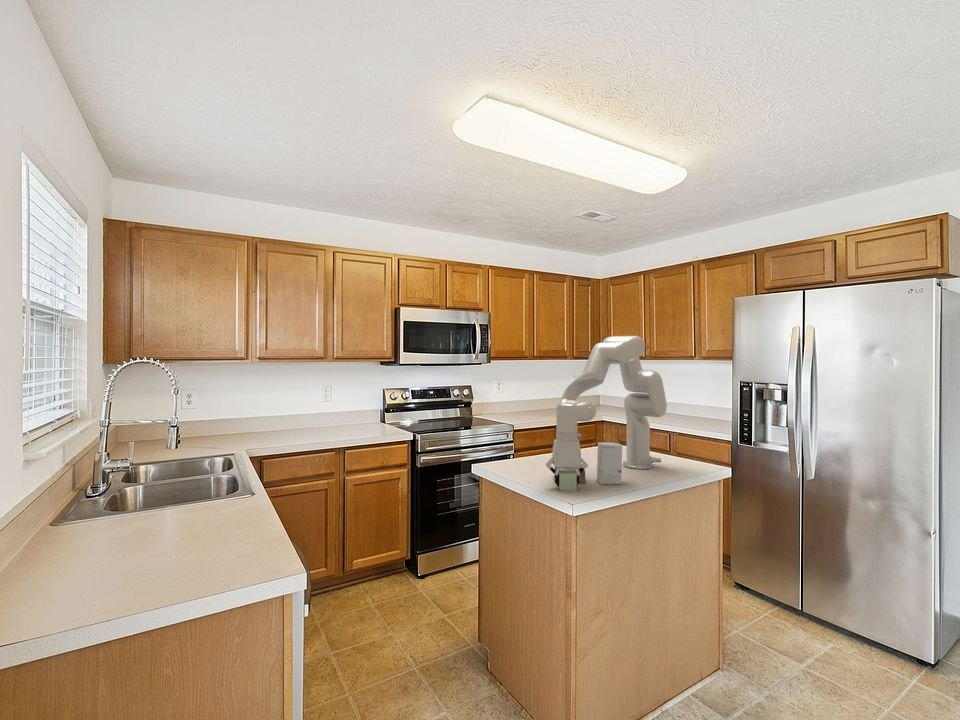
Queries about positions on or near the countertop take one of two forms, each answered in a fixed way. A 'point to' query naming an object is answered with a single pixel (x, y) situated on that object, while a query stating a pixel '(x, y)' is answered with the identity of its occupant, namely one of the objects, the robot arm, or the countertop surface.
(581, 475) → the walnut block
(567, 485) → the sage cube
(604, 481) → the skincare box
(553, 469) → the robot arm
